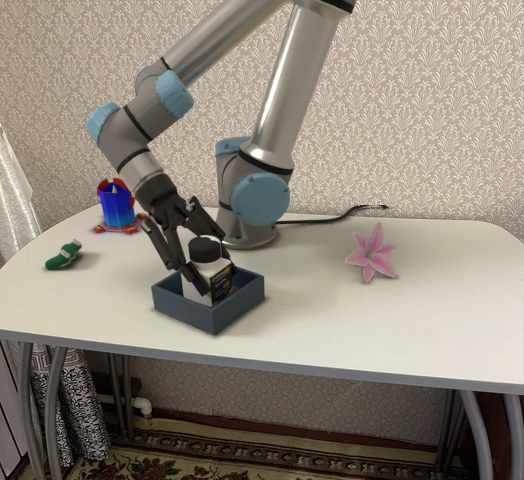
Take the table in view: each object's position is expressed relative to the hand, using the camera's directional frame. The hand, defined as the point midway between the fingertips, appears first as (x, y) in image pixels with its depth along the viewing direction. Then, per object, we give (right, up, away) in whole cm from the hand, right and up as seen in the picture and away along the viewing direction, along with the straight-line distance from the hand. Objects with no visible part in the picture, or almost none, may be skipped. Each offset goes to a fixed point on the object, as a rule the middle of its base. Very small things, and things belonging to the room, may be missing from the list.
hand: (221, 283), depth 107 cm
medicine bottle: (-3, -2, +4) cm, 5 cm away
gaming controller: (-37, +7, +21) cm, 43 cm away
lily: (+31, +4, +14) cm, 34 cm away
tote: (-3, -3, +5) cm, 7 cm away
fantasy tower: (-28, +20, +37) cm, 51 cm away
